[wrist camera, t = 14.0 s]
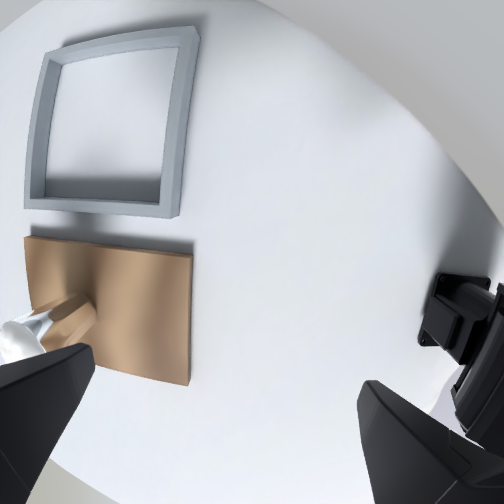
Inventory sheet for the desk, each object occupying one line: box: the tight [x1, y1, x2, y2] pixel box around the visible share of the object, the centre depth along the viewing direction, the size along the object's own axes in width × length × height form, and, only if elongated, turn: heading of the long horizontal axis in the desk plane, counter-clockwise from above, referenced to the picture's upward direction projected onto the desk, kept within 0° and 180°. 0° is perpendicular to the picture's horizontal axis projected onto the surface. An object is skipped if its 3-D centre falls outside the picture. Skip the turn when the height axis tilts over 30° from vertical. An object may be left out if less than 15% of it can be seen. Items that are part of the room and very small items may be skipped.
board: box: [24, 235, 193, 386], centre depth 22 cm, size 16×11×1 cm
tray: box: [24, 26, 200, 219], centre depth 18 cm, size 14×14×2 cm
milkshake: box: [0, 291, 97, 364], centre depth 17 cm, size 4×5×10 cm
